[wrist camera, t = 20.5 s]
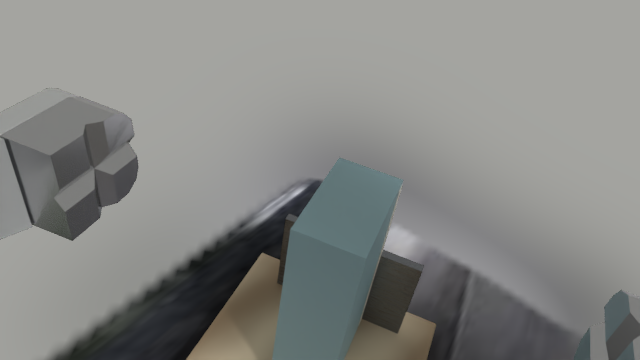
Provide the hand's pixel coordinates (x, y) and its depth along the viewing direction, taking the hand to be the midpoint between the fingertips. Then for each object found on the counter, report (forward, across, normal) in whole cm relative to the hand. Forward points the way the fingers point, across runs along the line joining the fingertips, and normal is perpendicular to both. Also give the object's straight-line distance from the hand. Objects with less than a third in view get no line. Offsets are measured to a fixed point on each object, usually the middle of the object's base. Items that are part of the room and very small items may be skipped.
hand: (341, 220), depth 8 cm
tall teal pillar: (+15, +3, +26) cm, 30 cm away
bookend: (+20, +4, +26) cm, 33 cm away
